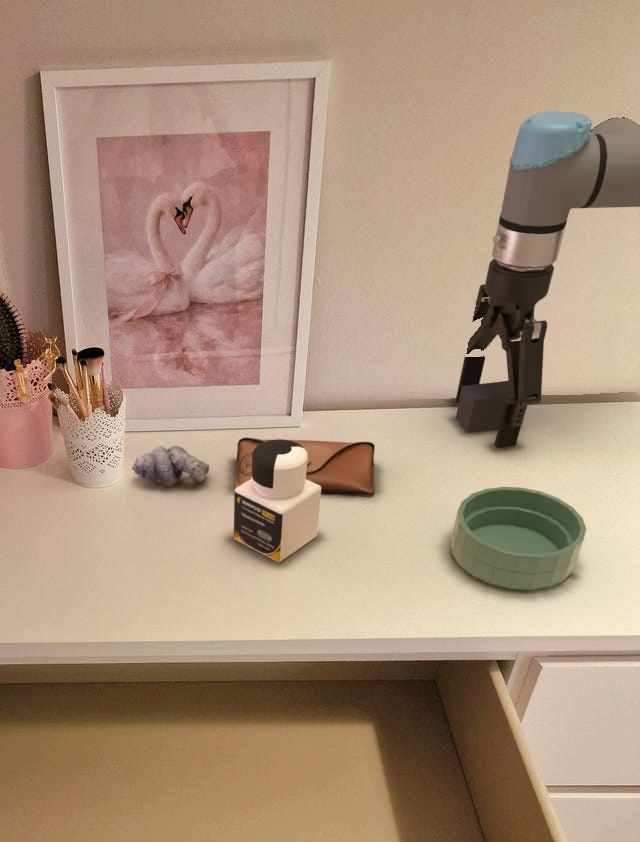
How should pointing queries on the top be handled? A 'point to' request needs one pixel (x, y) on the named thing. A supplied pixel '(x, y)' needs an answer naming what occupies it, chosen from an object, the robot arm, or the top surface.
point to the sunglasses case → (322, 465)
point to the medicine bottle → (277, 501)
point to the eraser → (482, 406)
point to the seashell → (169, 466)
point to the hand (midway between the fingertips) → (484, 422)
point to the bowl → (517, 537)
